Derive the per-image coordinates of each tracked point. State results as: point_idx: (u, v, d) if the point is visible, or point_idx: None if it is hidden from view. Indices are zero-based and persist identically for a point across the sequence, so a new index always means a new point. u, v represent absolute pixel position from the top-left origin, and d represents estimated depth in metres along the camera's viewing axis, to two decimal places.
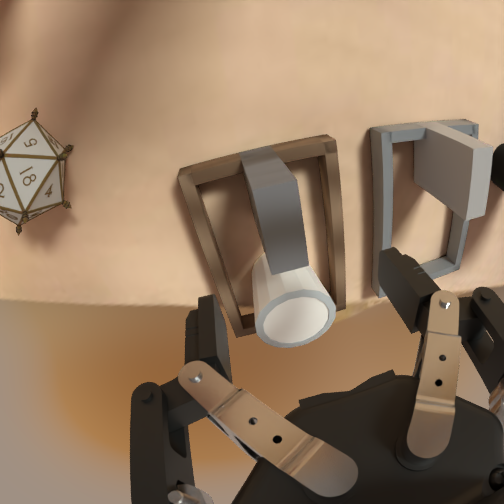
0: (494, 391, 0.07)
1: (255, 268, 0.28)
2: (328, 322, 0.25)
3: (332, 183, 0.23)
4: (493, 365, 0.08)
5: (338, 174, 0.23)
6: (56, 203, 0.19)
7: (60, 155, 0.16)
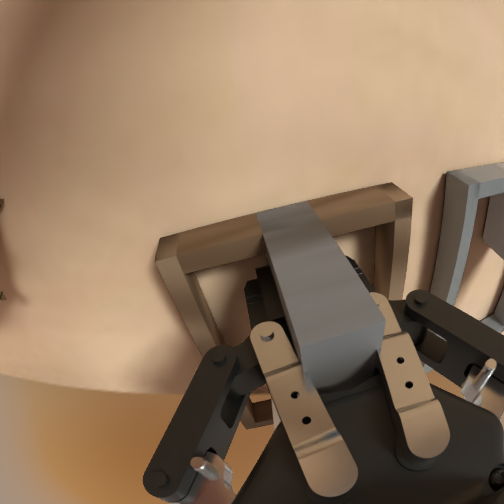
0: (466, 385, 0.08)
1: None
2: None
3: (397, 261, 0.15)
4: (453, 361, 0.09)
5: (407, 248, 0.14)
6: None
7: None
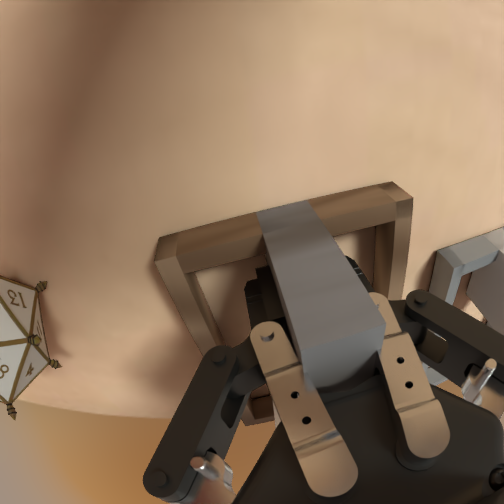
0: (466, 385, 0.08)
1: None
2: None
3: (397, 260, 0.15)
4: (453, 361, 0.09)
5: (407, 247, 0.14)
6: (42, 369, 0.13)
7: (31, 339, 0.11)
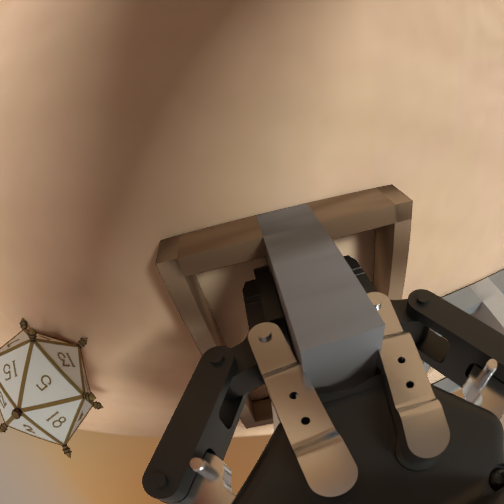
0: (467, 385, 0.08)
1: None
2: None
3: (396, 263, 0.15)
4: (454, 360, 0.09)
5: (407, 250, 0.14)
6: None
7: (86, 396, 0.14)
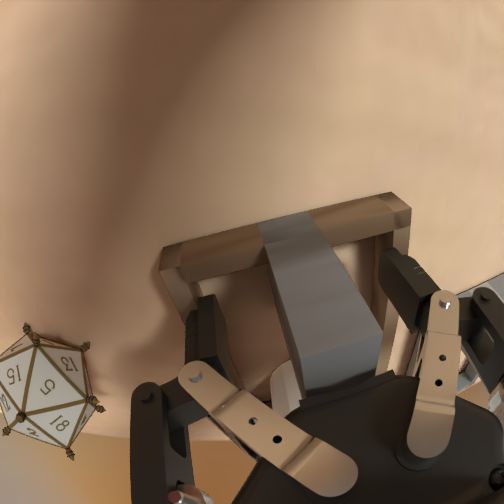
0: (494, 391, 0.07)
1: (274, 381, 0.21)
2: None
3: None
4: (493, 365, 0.08)
5: None
6: (90, 415, 0.16)
7: (89, 400, 0.14)
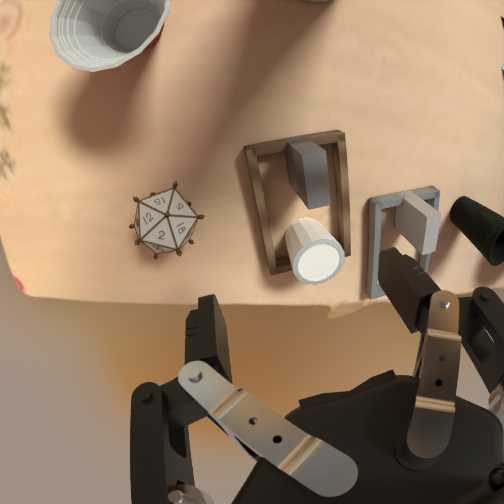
0: (494, 391, 0.07)
1: (288, 232, 0.41)
2: (340, 264, 0.38)
3: (342, 160, 0.35)
4: (493, 365, 0.08)
5: (346, 155, 0.35)
6: (187, 241, 0.36)
7: (200, 216, 0.34)
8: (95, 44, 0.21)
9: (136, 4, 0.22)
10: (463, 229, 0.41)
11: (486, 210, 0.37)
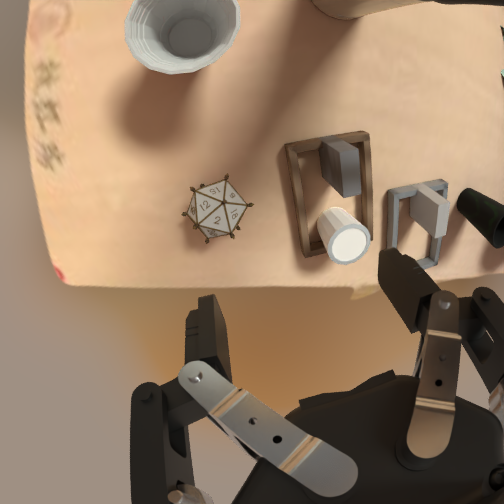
0: (494, 391, 0.07)
1: (320, 219, 0.46)
2: (366, 246, 0.42)
3: (366, 157, 0.40)
4: (493, 365, 0.08)
5: (370, 152, 0.40)
6: (235, 227, 0.41)
7: (249, 204, 0.39)
8: (158, 48, 0.26)
9: (190, 14, 0.27)
10: (469, 217, 0.46)
11: (488, 199, 0.42)
